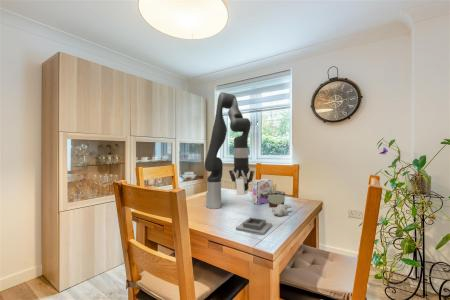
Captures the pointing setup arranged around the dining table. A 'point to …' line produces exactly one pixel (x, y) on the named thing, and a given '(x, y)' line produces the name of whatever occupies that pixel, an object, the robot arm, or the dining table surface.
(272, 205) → the food container
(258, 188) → the candy box
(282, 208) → the bunny figurine
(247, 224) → the socket plate
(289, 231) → the dining table surface
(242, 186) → the plug
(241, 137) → the robot arm
